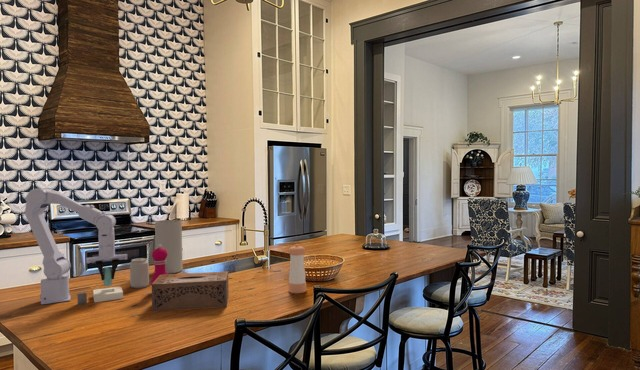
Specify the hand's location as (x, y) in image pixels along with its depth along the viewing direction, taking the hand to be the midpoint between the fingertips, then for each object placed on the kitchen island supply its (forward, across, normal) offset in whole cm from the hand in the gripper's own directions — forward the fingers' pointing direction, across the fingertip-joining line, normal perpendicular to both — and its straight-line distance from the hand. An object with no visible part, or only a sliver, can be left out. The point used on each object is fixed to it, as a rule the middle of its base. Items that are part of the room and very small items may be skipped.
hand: (107, 279), depth 169 cm
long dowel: (+2, 0, 0) cm, 2 cm away
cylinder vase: (+7, +29, +34) cm, 46 cm away
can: (+7, +13, +11) cm, 19 cm away
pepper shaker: (+8, +68, -32) cm, 76 cm away
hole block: (+7, 0, 0) cm, 7 cm away
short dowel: (+7, -9, -5) cm, 13 cm away
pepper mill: (+7, +19, -5) cm, 21 cm away
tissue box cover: (+8, +27, -26) cm, 38 cm away
